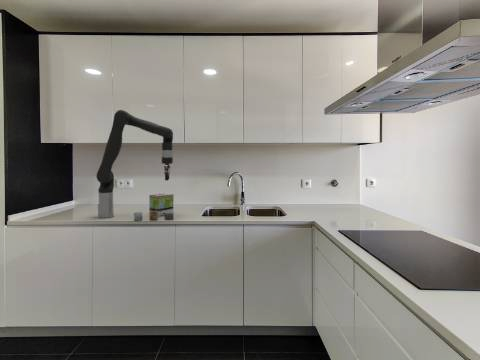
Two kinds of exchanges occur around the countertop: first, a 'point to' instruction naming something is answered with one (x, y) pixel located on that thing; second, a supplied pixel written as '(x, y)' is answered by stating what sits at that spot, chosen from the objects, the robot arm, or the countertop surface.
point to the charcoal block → (168, 216)
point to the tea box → (161, 203)
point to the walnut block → (153, 215)
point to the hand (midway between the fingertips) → (167, 179)
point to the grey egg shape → (138, 216)
